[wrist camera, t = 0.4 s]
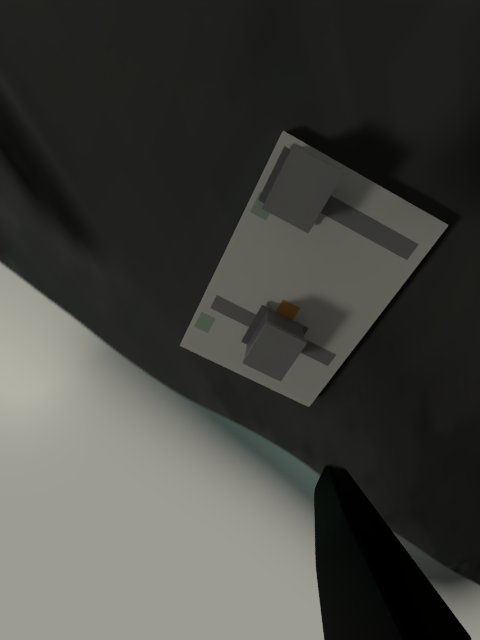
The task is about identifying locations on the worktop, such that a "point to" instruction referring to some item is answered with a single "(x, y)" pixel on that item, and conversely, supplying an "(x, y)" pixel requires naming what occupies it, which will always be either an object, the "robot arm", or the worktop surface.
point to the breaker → (298, 188)
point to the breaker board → (312, 276)
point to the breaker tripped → (273, 343)
